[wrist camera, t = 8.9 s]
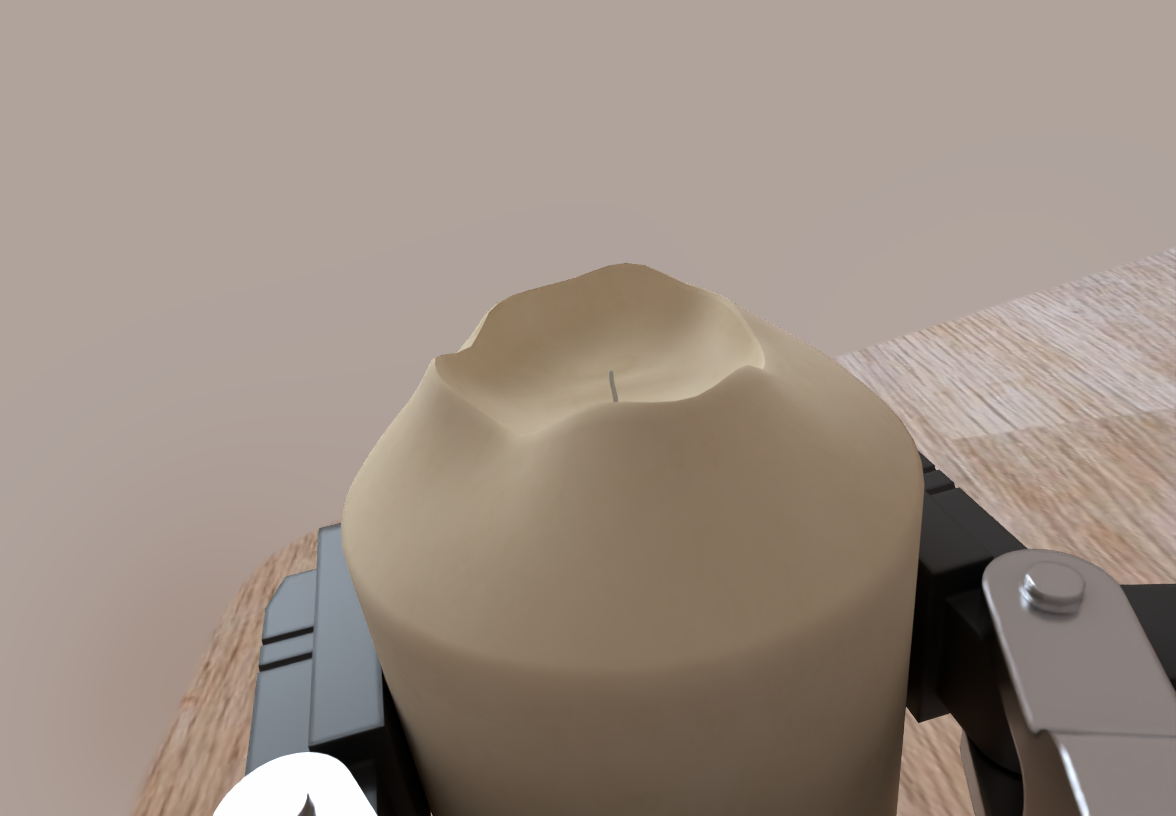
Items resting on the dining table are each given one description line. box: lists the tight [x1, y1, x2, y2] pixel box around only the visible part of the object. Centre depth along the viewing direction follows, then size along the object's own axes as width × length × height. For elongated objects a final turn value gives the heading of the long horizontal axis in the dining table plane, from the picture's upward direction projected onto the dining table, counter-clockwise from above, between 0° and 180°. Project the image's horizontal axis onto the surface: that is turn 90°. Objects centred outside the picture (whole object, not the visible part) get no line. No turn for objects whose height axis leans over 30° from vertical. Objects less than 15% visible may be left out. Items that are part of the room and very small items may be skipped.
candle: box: [341, 263, 924, 816], centre depth 10 cm, size 6×6×10 cm
